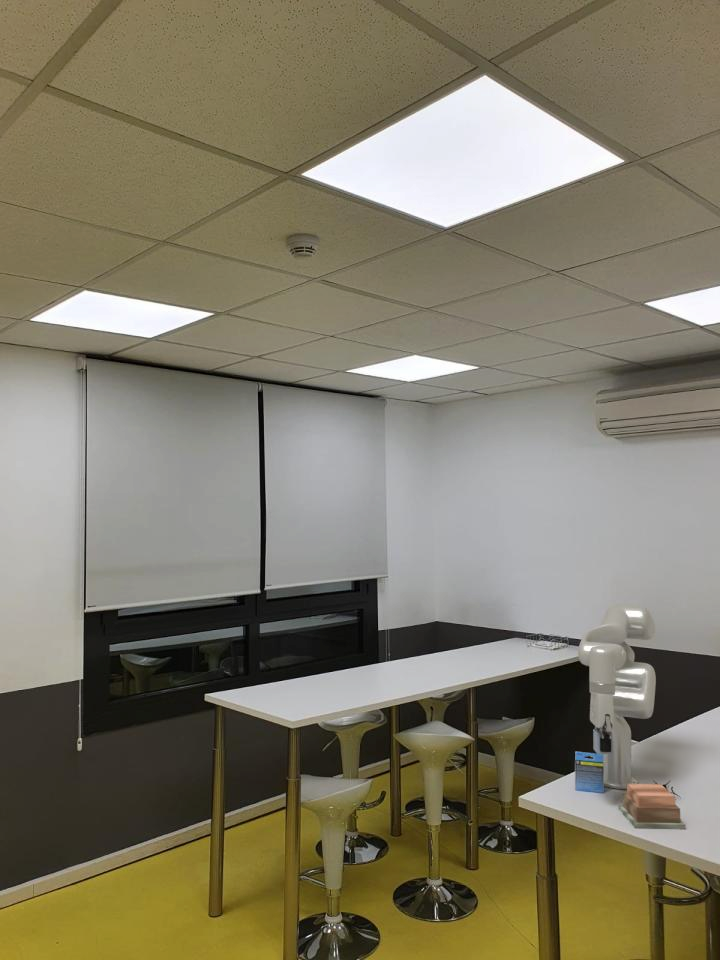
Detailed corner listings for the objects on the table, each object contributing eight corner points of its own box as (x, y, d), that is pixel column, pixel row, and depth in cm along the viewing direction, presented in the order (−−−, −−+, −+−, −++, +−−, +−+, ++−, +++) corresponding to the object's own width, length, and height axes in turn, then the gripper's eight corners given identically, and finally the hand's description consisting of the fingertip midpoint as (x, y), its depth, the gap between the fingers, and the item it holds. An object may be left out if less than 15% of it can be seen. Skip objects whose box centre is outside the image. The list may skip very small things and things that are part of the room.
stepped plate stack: (618, 809, 219) (618, 781, 220) (665, 810, 219) (665, 782, 219) (635, 828, 205) (634, 798, 206) (685, 829, 205) (684, 799, 205)
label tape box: (603, 789, 236) (603, 750, 237) (604, 793, 232) (603, 754, 233) (575, 786, 238) (574, 748, 239) (575, 790, 234) (574, 751, 235)
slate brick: (593, 749, 224) (593, 727, 224) (608, 749, 224) (608, 727, 224) (597, 753, 219) (597, 731, 220) (612, 754, 219) (612, 731, 220)
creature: (685, 806, 225) (671, 791, 233) (687, 790, 224) (673, 776, 232) (661, 807, 224) (648, 792, 232) (662, 791, 223) (650, 776, 231)
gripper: (582, 682, 231) (583, 741, 230) (597, 693, 215) (598, 757, 213) (606, 682, 231) (607, 741, 230) (623, 694, 214) (624, 758, 213)
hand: (603, 748), depth 222 cm, fingers closed on slate brick, 4 cm apart
